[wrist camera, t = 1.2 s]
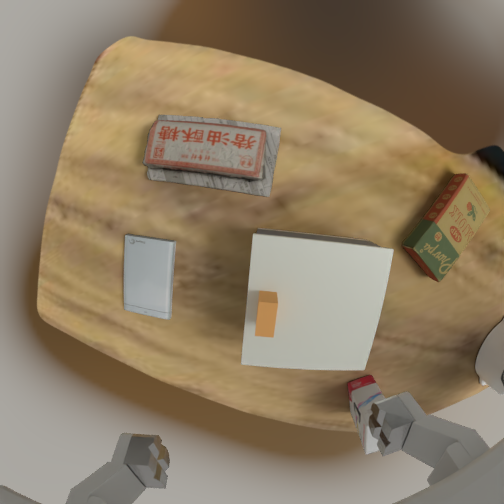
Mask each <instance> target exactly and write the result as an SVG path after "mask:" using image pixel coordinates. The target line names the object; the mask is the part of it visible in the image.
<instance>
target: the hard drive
mask: <svg viewBox="0 0 504 504" xmlns="http://www.w3.org/2000/svg"><path fill="white" fill-rule="evenodd" d="M175 249H176V241H174V240H167V239H160V238H153V237H147V236H140V235H133V234H126V235H125V250H124V309H125V310H127V311H131V312H135V313H139V314H144V315H148V316H153V317H157V318H162V319H169V320H170V319H171V314H172V293H173V276H174V262H175Z"/></svg>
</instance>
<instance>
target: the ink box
mask: <svg viewBox="0 0 504 504" xmlns="http://www.w3.org/2000/svg"><path fill="white" fill-rule="evenodd" d="M348 391H349V401H350V412H351V415H352V418H353V420H354V423H355V426H356V428H357V431H358V434H359V437H360V440H361V442H362V445H363V448H364V451H365V454H370V453H374V452H377V451H380V450H379V448H378V446H377V442H378V439H376V438H374V437H372V435H371V432H370V429H369V423H368V422H369V417H370V416H371V414H372V411H371V406H372V404H373V403H375V402H378V401H381V400H383V399H385V397H384V395H383V394H382V392H381V390H380V388H379V387H378V385H377V383H376V381H375V380H374V378H373V376H372V375H368V376H365V377H362V378H359V379H357V380H354V381H351V382H349V383H348Z"/></svg>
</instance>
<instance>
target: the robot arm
mask: <svg viewBox="0 0 504 504" xmlns="http://www.w3.org/2000/svg"><path fill="white" fill-rule="evenodd" d="M475 369H476V373H477V374H478V375H479V377H480V379H479V381H480V384H481V385H486V384H487V385H489V386H490V387H491V388H492V389H493V390H495V391H496V392H497V393H498V394H500V395H502V394H504V318H503V320H502V321H501V322H500V323H499V324H498V325H497V326H496V327H495V328H494V329H493V330H492V331H491V332H490V334H489V335H488V336H487V338H486V339H485V341H484V343H483V344H482V346H481V348H480V350H479V353H478V356H477V359H476V364H475ZM371 411H372V414H371V416H370V417H369V422H368V423H369V429H370V432H371V435H372V437H374V438H376V439H378V442H377V446H378V448H379V450H380V452H381V454H382V456H385V455H388V454H391V453H393V452H396V451H398V450H401V449H402V451H404V452H406V453H407V454H409V455H411V456H413V457H414V458H416V459H418V460H420V461H422V462H423V463H425V464H427V465H429V466H431V467H433V468H434V470H433V471H432V473H431V474H430V476H429V477H428V479H427V481H428V483H429V485H430V486H429V487H428V488H426V489H424V490H422V491H420V492H418V493H415V494H413V495H411V496H409V497H407V498H405V499H402V500H401V501H398V502H395V503H393V504H504V438H503V439H502V440H501V441H499V442H498V443H497V444H496V445H494V446H493V447H492V448H489V447H488V445H487V444H486V443H485V441H484V440H483V439H482V438H481V436H480V435H479V434H478V433H477V432H476V430H474V429H471V428H468V427H465V426H462V425H459V424H456V423H453V422H449V421H447V420H444V419H441V418H438V417H436V416H433V415H428V416H427V415H426V414H425V412H424V411H423V410H422V408H421V407H420V406H419V404H418V403H417V402H416V401H415V399H414V398H413V397H412V395H411V394H410V393H409V392H407V391H406V392H403V393H401V394H398V395H394V396H392V397H389V398H386V399H383V400H381V401H378V402H375V403H373V404H372V406H371ZM161 442H162V440H161V438H160V437H159V435H144V434H143V435H142V434H131V433H122V434H121V435H120V437H119V440H118V443H117V446H116V449H115V452H114V455H113V458H112V461H111V462H107V463H106V464H105V465H103V466H102V467H101V468H99V469H98V470H97V471H95V472H94V473H93V474H91V475H90V476H89V477H87V478H86V479H85V480H84V481H82V482H81V483H79V484H78V485H76V486H75V487H74V488H72V489H71V491H70V494H69V496H68V499H67V502H66V504H132V503H133V502H134V501H135V500H136V499H137V498H138V497H139V496H140V495H141V493H142V492H143V491H144V490H145V489H146V488H145V487H148V488H164V489H165V488H166V483H167V477H168V476H167V475H166V473H165V470H167V469H168V468H169V463H170V459H169V453H168V450H167V449H166V447H165V446H163V445H162V444H161ZM0 504H41V503H38V502H36V501H34V500H32V499H30V498H28V497H26V496H23V495H21V494H19V493H17V492H15V491H14V490H12V489H10V488H8V487H6V486H3V485H0Z"/></svg>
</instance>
